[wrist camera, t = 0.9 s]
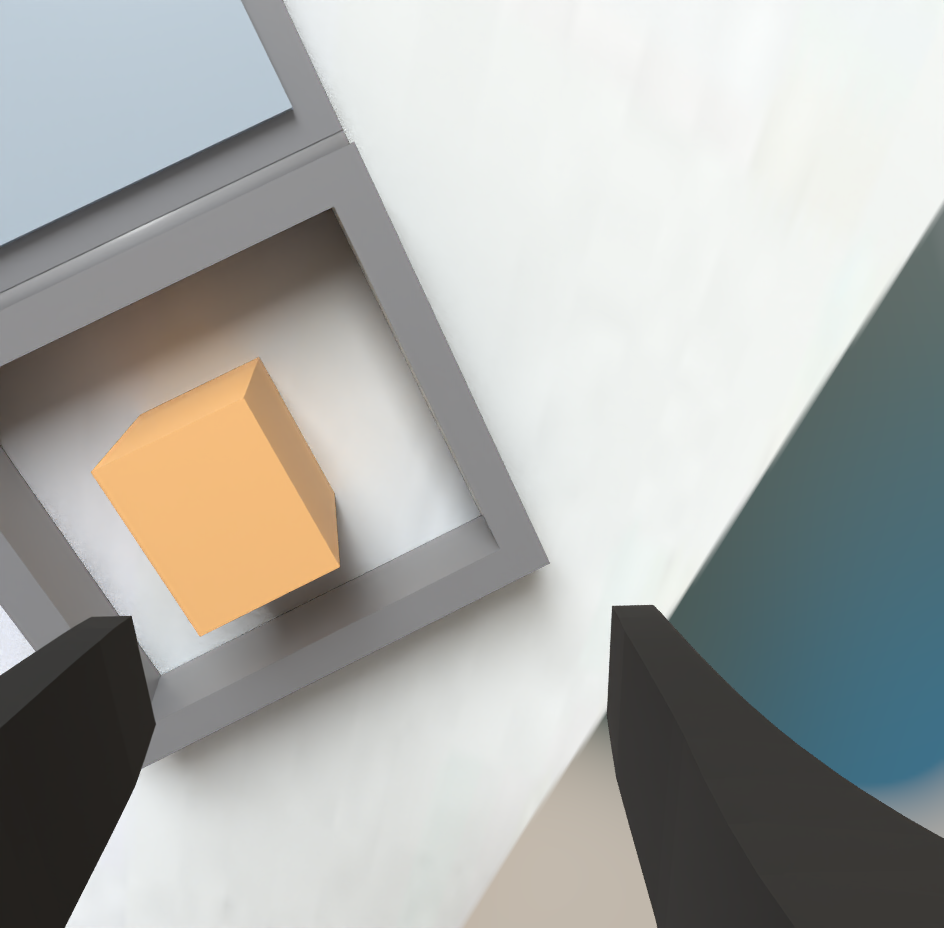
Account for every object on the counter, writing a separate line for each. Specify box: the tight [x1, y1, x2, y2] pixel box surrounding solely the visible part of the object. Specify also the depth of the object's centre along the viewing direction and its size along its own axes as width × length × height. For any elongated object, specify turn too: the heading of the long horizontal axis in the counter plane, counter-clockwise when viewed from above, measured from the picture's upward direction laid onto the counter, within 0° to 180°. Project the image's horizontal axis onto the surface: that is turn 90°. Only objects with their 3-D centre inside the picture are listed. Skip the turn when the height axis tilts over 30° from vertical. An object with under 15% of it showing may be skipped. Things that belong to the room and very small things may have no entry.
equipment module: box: [91, 357, 340, 636], centre depth 23 cm, size 4×5×6 cm
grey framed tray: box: [0, 0, 550, 769], centre depth 22 cm, size 14×28×3 cm, turn 25°
